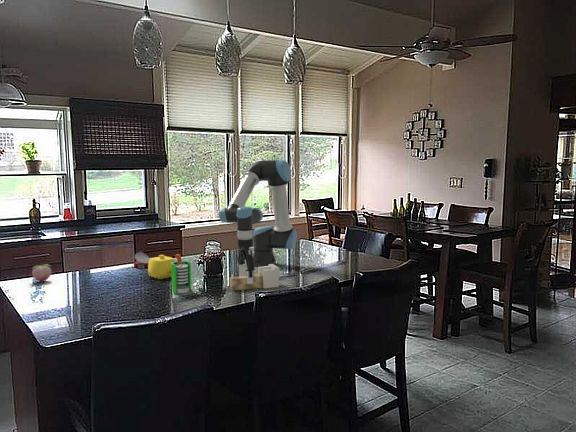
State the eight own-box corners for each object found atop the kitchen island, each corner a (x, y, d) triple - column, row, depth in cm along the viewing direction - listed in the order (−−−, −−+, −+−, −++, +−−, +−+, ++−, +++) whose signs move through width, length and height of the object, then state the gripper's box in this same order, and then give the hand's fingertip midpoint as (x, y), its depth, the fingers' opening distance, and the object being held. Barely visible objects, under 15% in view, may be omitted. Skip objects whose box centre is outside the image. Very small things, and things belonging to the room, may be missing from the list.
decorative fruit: (48, 278, 260) (47, 260, 259) (54, 281, 254) (52, 262, 253) (29, 281, 254) (28, 263, 252) (34, 284, 248) (33, 265, 247)
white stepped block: (258, 284, 246) (257, 265, 244) (273, 282, 249) (272, 263, 248) (264, 288, 237) (263, 269, 236) (279, 286, 240) (279, 267, 239)
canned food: (147, 272, 294) (154, 257, 295) (147, 274, 284) (155, 258, 286) (129, 265, 291) (137, 250, 292) (129, 266, 281) (137, 251, 283)
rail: (231, 291, 234) (231, 279, 233) (229, 289, 237) (229, 277, 236) (270, 286, 241) (270, 275, 240) (267, 285, 244) (267, 273, 244)
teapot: (183, 277, 261) (182, 256, 260) (162, 281, 253) (162, 259, 251) (163, 271, 275) (162, 251, 274) (144, 275, 267) (143, 254, 265)
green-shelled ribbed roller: (180, 294, 227) (178, 257, 225) (168, 292, 231) (166, 255, 229) (193, 290, 235) (192, 254, 233) (181, 287, 239) (180, 252, 237)
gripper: (231, 235, 246) (232, 275, 248) (245, 243, 223) (246, 287, 225) (244, 234, 248) (246, 273, 251) (260, 242, 225) (261, 285, 228)
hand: (246, 280), depth 238 cm, fingers open, 13 cm apart
